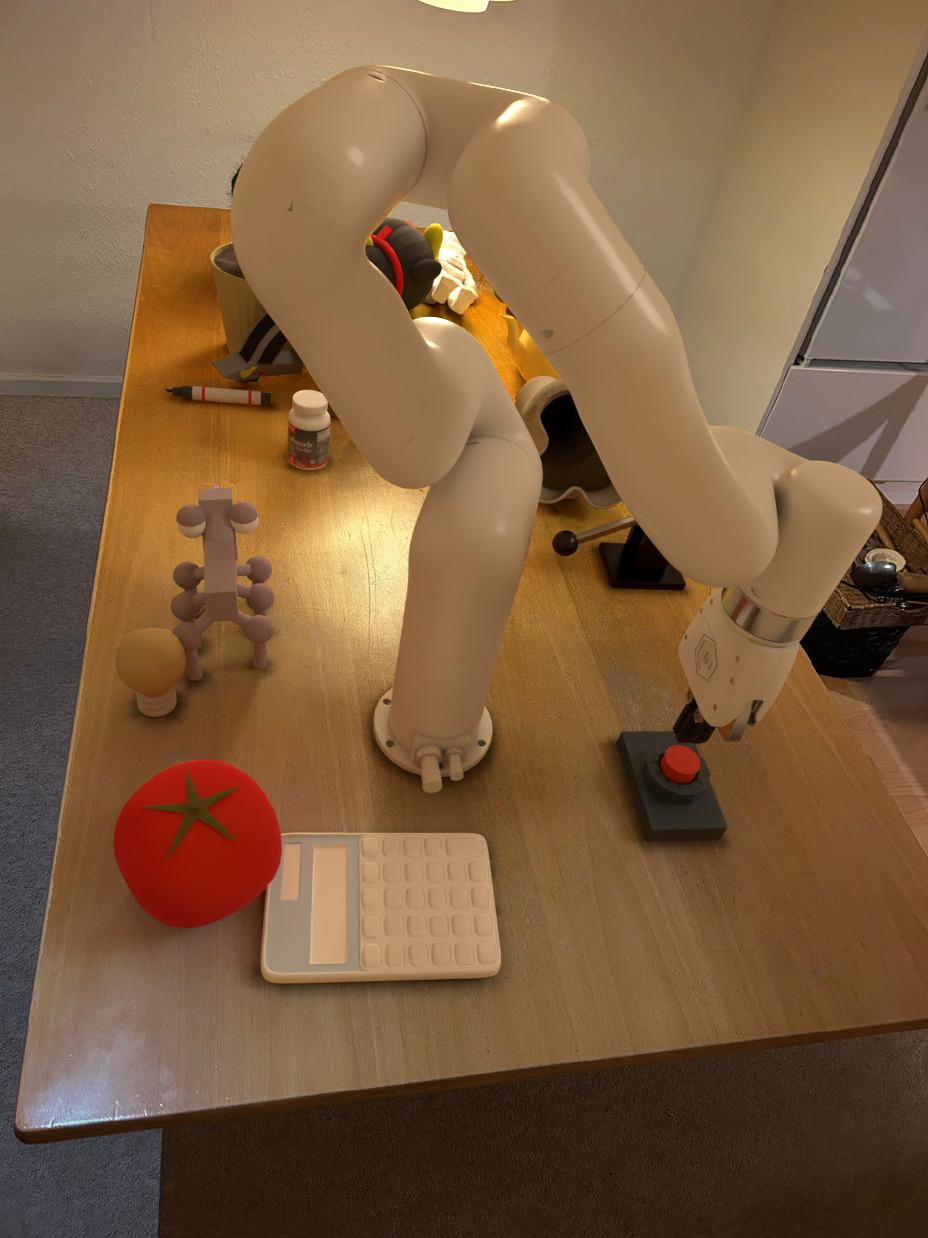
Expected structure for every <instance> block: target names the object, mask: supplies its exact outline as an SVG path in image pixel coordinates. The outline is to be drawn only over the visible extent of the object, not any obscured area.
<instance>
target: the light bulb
mask: <svg viewBox="0 0 928 1238" xmlns="http://www.w3.org/2000/svg"><path fill="white" fill-rule="evenodd" d="M114 663H115V669H116V672H117V675H118V677H119V678H120V680H121V681H122V683H123V684H124V685H125V686H127V688H129V689H130V690H132V691H134V692H135V696H136V703H137V708H138V710H139V711H140V712H141V713H142V714H143V715H145V716H147V717H151V718H160V717H164V716H167V715H168V714H169V713H171V712H172V711H173V710H174V709H175V707H176V705H177V701H178V700H177V691H176V684H178V683H179V681H181V678H182V677H183V675H184V673H185V669H186V667H187V666H186V654H185V651H184V647H183V645H182V644H181V642H180V640H179V639H178V638H177V637H176V636H175V635H174V634H173V633H172V631H170V630H168V629H166V628H163V627H162V628H161V627H153V626H152V627H142V628H139V629H136V630H133V631H131V632H129V633H128V634H127V635H126V636H125V637H124V638H123V639H122V640H121V642H120V643H119V644H118V648H117V650H116V653H115V662H114Z"/></svg>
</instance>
